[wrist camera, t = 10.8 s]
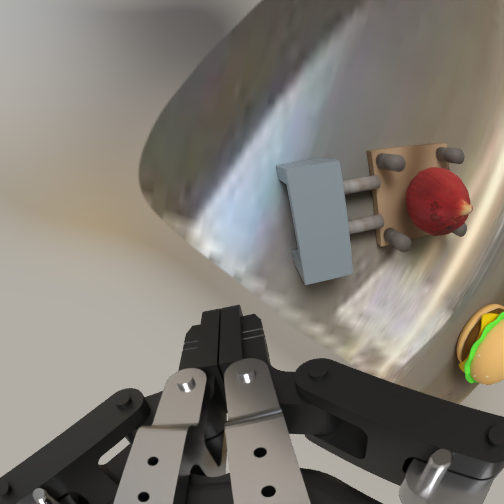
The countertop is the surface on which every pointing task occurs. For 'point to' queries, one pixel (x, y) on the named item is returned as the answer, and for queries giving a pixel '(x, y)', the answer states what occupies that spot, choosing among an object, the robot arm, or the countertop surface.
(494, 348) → the hamburger
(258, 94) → the countertop surface
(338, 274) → the housing
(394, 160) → the pin seat
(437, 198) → the onion
